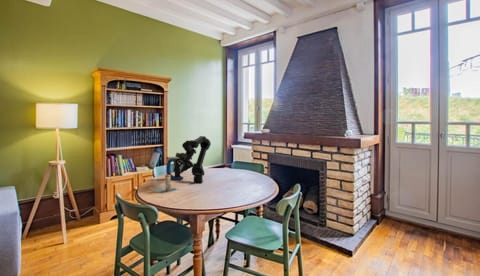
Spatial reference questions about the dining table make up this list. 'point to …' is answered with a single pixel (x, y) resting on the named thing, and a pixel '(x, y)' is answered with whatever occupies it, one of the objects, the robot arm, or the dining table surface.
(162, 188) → the board
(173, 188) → the strip
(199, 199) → the dining table surface
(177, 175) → the handheld scanner
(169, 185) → the birch peg
